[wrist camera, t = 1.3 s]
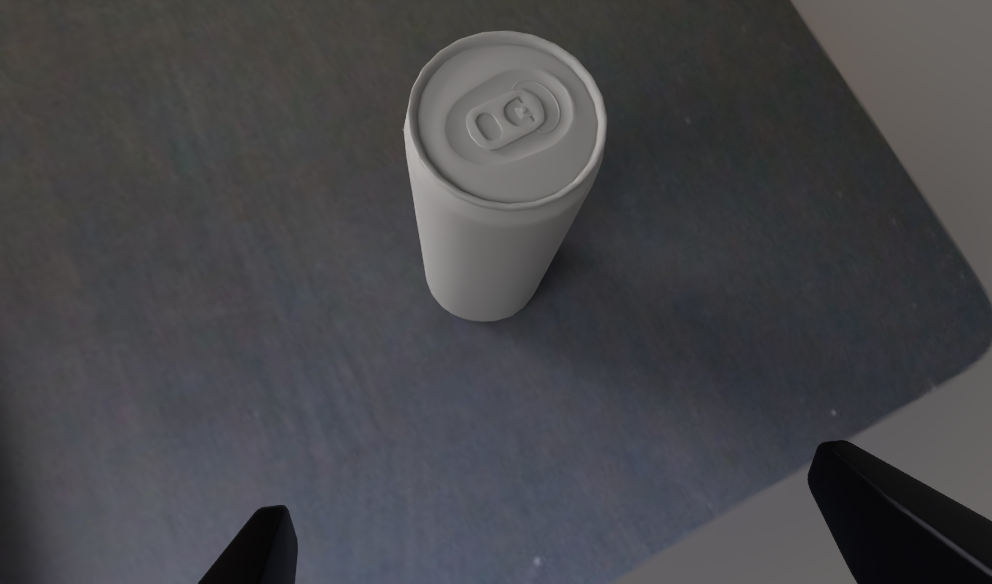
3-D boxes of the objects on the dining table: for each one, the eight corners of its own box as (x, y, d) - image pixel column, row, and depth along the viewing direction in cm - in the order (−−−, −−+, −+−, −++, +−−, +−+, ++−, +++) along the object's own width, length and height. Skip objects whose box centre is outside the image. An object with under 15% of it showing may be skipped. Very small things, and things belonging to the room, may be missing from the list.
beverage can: (558, 292, 24) (654, 155, 13) (460, 347, 23) (467, 252, 12) (502, 201, 25) (543, -5, 14) (405, 250, 24) (362, 74, 13)
